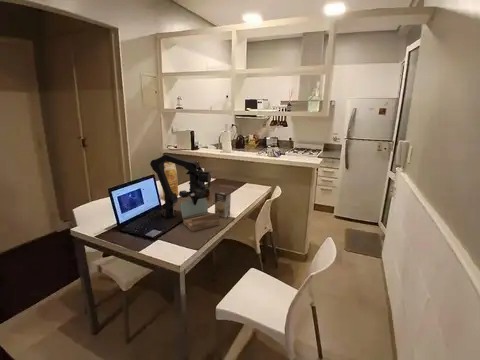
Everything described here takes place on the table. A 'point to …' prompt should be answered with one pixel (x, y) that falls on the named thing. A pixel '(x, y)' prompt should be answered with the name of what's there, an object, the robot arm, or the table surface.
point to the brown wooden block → (201, 221)
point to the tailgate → (194, 208)
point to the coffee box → (222, 203)
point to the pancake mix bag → (171, 177)
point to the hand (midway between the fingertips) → (195, 204)
